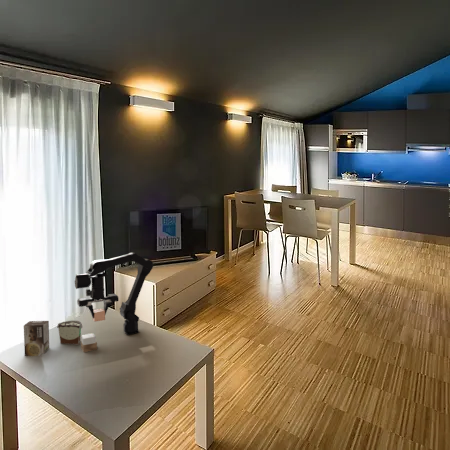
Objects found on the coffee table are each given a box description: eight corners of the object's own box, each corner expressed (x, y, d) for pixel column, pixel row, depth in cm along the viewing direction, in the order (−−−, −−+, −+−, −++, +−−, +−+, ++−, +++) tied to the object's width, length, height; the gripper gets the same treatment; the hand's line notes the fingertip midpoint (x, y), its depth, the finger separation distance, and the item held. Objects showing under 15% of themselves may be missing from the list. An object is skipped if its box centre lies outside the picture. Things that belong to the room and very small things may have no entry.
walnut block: (94, 345, 181) (93, 338, 181) (97, 349, 176) (96, 342, 176) (81, 348, 178) (80, 341, 178) (83, 352, 173) (83, 345, 173)
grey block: (93, 339, 180) (93, 333, 180) (95, 342, 175) (95, 336, 175) (81, 341, 177) (81, 335, 177) (83, 345, 173) (83, 338, 172)
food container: (87, 340, 188) (87, 320, 187) (81, 344, 182) (80, 324, 181) (64, 339, 189) (63, 319, 189) (57, 343, 183) (56, 323, 182)
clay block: (102, 317, 189) (102, 308, 189) (105, 319, 185) (104, 310, 185) (92, 318, 187) (92, 310, 186) (94, 321, 183) (94, 312, 182)
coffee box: (50, 353, 178) (49, 320, 177) (44, 359, 172) (43, 324, 171) (30, 354, 178) (29, 320, 177) (23, 359, 171) (23, 325, 170)
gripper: (112, 280, 196) (113, 310, 198) (74, 285, 187) (75, 315, 188) (118, 284, 187) (119, 315, 188) (78, 289, 177) (80, 322, 178)
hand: (98, 316), depth 186 cm, fingers closed on clay block, 5 cm apart
